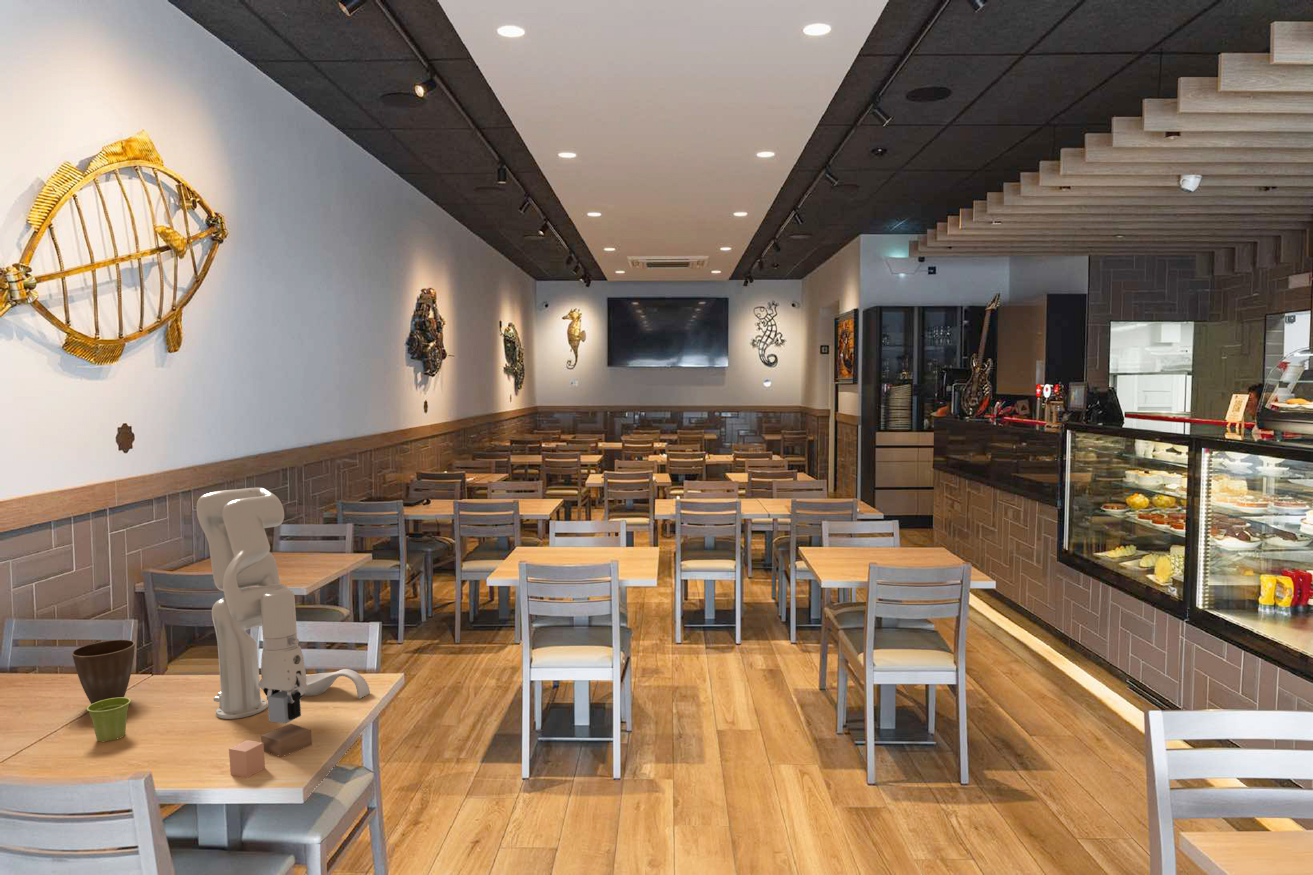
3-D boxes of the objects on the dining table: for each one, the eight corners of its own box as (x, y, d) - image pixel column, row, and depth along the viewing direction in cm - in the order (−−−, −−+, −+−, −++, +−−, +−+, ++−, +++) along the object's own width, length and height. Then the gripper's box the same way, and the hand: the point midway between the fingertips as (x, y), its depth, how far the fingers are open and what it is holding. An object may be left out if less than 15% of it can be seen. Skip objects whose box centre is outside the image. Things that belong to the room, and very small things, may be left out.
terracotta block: (230, 774, 194) (228, 748, 194) (248, 765, 199) (246, 739, 199) (247, 777, 192) (245, 751, 192) (265, 768, 197) (263, 742, 197)
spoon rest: (281, 698, 243) (279, 673, 243) (309, 684, 254) (307, 660, 254) (353, 704, 236) (351, 679, 236) (378, 689, 247) (377, 665, 247)
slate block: (285, 713, 211) (283, 689, 210) (301, 715, 209) (299, 691, 209) (269, 721, 206) (267, 696, 206) (285, 723, 204) (283, 698, 204)
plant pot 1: (149, 698, 246) (145, 643, 245) (92, 716, 233) (88, 658, 232) (122, 690, 254) (118, 637, 253) (66, 707, 241) (61, 651, 240)
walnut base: (261, 751, 207) (260, 735, 207) (291, 739, 214) (290, 723, 214) (281, 758, 203) (280, 741, 202) (311, 745, 209) (310, 729, 209)
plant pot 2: (141, 731, 221) (139, 698, 221) (107, 746, 212) (105, 712, 212) (114, 728, 224) (112, 695, 224) (80, 742, 215) (77, 708, 215)
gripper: (319, 640, 207) (324, 714, 208) (266, 635, 213) (270, 707, 214) (295, 649, 200) (300, 726, 201) (241, 644, 206) (246, 718, 207)
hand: (285, 715), depth 208 cm, fingers closed on slate block, 5 cm apart
